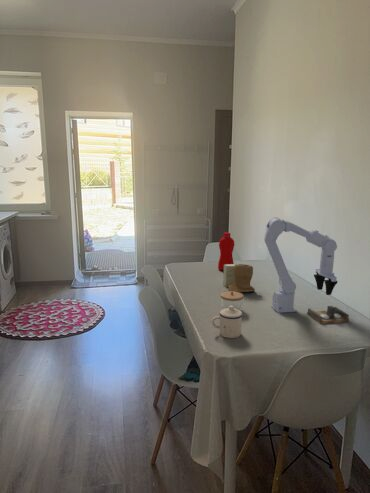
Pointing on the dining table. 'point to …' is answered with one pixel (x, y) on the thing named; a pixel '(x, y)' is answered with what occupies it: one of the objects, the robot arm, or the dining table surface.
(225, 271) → the skincare box
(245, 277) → the brown boot
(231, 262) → the red bottle
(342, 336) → the dining table surface
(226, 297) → the lidded jar
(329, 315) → the spectacles
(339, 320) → the stand
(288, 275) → the robot arm
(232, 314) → the teacup with lid
